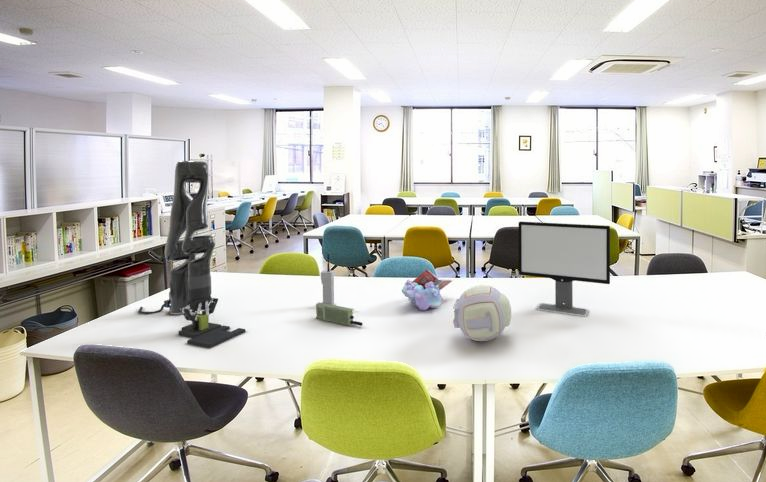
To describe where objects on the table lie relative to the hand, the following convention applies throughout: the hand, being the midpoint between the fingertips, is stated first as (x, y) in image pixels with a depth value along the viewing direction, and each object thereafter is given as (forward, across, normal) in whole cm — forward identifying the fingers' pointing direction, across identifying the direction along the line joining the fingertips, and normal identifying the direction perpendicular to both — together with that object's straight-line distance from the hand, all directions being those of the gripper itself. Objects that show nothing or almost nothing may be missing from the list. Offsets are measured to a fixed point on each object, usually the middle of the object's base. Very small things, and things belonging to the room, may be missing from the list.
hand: (200, 327), depth 148 cm
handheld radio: (+2, -24, +48) cm, 54 cm away
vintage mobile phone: (+2, -38, +30) cm, 48 cm away
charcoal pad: (+2, +2, +12) cm, 12 cm away
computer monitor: (+2, -66, +138) cm, 153 cm away
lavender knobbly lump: (+2, -54, +74) cm, 92 cm away
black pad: (+2, 0, -1) cm, 2 cm away
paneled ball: (+2, -28, +111) cm, 115 cm away
